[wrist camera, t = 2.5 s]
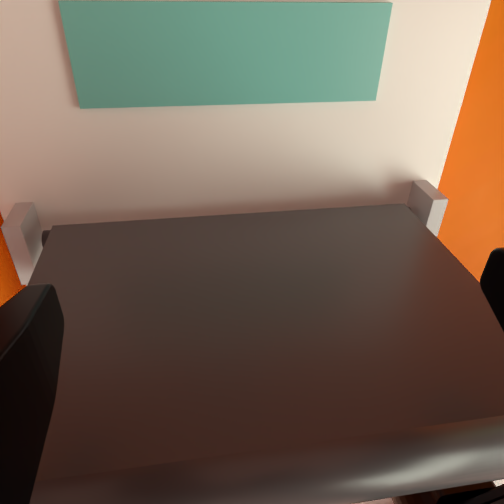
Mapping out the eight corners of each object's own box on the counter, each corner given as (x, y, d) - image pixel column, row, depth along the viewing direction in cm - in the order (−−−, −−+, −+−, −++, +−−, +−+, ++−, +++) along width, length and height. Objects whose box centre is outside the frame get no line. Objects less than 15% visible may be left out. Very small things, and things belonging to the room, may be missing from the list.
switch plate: (382, 336, 24) (404, 376, 22) (67, 369, 22) (55, 419, 20) (617, -566, 9) (770, -744, 7) (-310, -769, 7) (-560, -1145, 5)
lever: (406, 228, 18) (620, 473, 10) (44, 253, 16) (-96, 594, 8) (415, 194, 18) (659, 431, 9) (33, 216, 15) (-141, 555, 7)
